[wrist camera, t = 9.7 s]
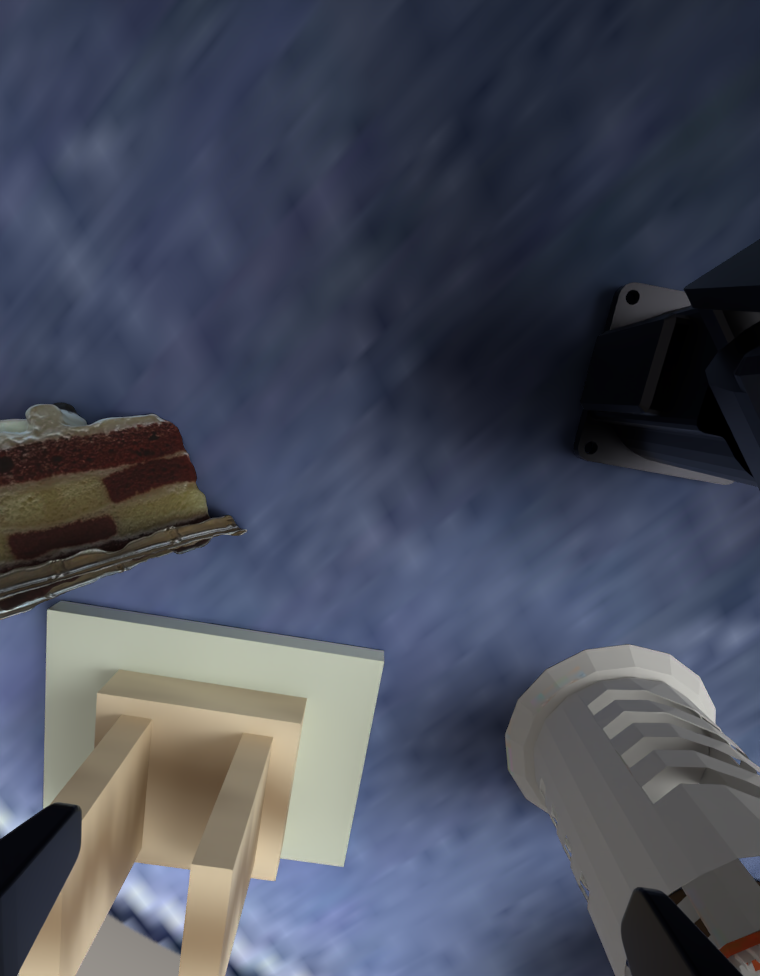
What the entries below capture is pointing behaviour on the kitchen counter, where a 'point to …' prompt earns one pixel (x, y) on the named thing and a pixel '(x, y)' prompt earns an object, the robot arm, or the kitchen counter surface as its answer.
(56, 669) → the sage board
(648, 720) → the french press
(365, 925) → the kitchen counter surface
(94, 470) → the chocolate cake
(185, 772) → the wooden slotted holder
